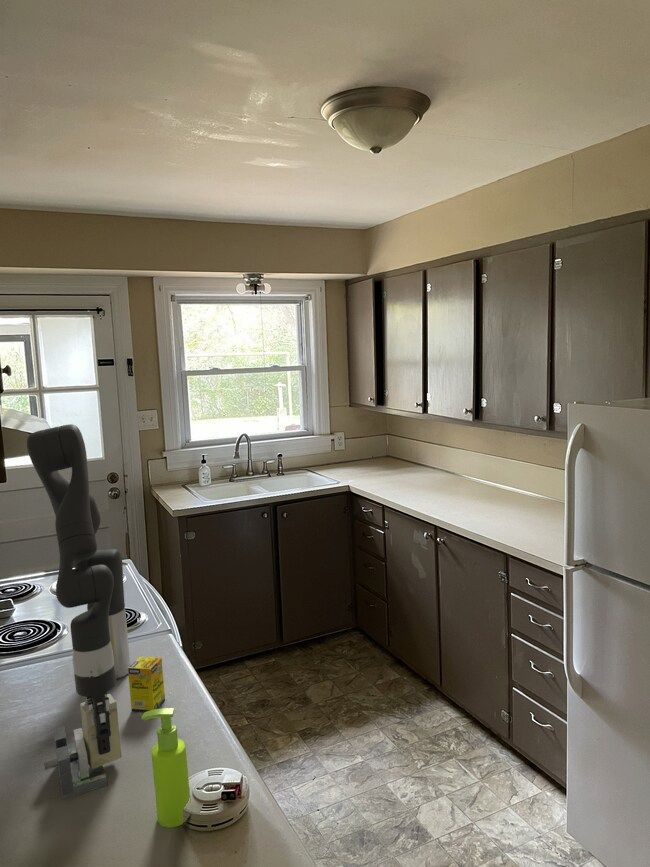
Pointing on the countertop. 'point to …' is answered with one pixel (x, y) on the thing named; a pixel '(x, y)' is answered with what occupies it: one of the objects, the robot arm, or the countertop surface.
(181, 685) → the countertop surface
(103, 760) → the skincare box
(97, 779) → the grey bracket with rod
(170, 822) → the soap dispenser
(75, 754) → the grey t-shaped piece
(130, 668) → the supplement box
